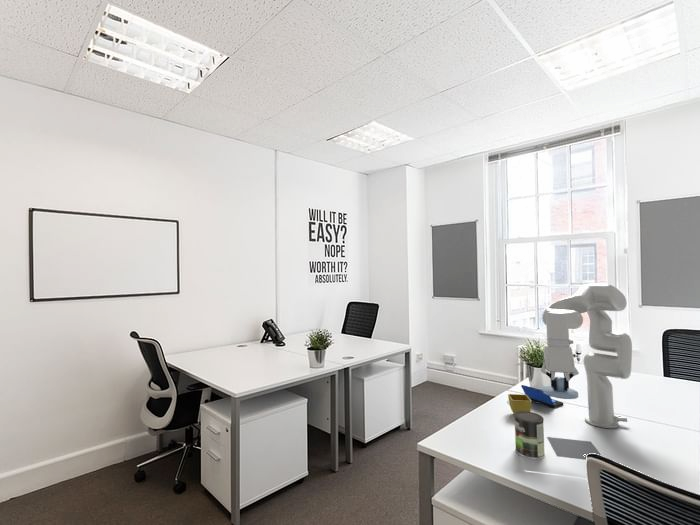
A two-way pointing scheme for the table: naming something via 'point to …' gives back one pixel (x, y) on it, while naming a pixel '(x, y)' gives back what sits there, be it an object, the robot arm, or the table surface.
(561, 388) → the lid
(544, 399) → the handheld game console
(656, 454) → the table surface
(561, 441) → the mat
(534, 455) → the coffee can
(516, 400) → the flower pot
